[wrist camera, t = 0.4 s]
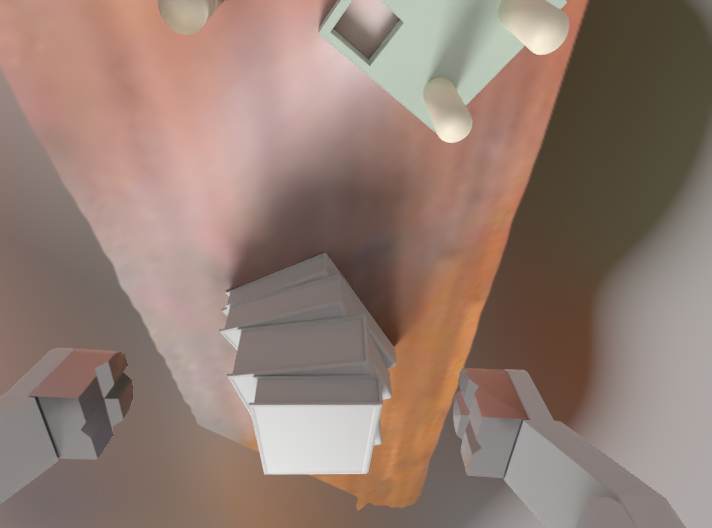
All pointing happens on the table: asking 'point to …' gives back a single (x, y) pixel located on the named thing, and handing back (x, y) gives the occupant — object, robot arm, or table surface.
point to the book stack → (309, 369)
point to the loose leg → (187, 14)
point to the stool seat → (451, 51)
